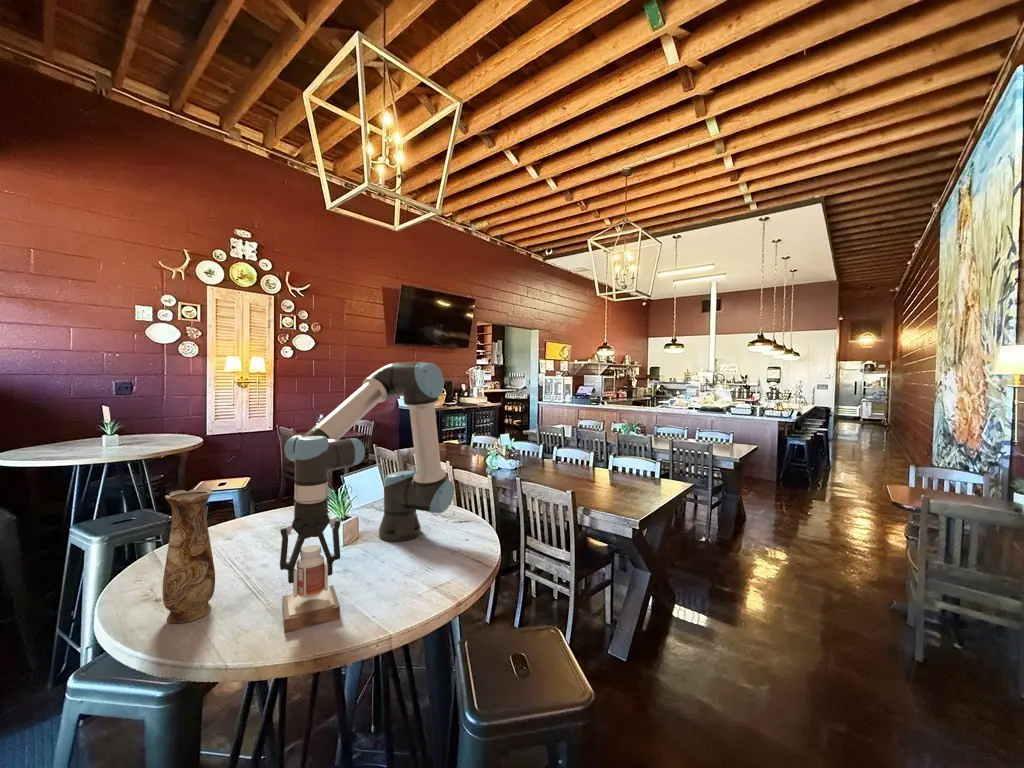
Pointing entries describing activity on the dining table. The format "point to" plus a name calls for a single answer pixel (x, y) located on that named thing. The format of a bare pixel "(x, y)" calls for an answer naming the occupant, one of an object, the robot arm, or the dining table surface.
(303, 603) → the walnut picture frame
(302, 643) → the dining table surface
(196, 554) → the vase
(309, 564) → the pill bottle
